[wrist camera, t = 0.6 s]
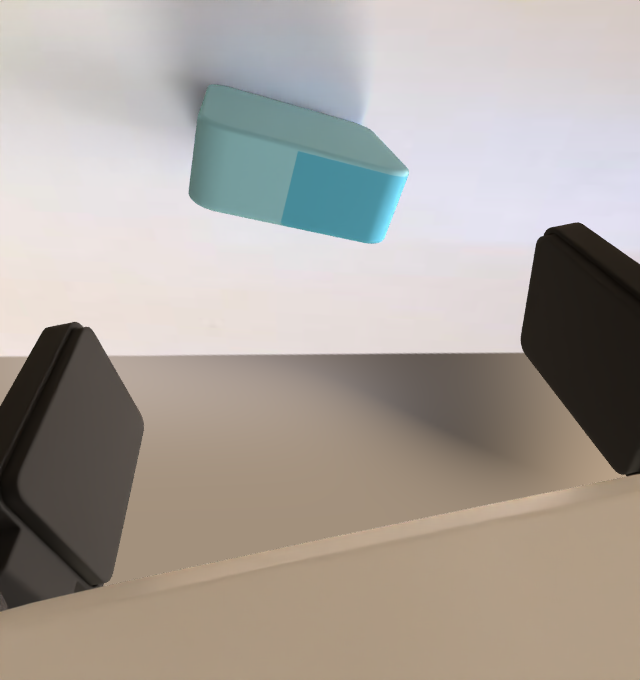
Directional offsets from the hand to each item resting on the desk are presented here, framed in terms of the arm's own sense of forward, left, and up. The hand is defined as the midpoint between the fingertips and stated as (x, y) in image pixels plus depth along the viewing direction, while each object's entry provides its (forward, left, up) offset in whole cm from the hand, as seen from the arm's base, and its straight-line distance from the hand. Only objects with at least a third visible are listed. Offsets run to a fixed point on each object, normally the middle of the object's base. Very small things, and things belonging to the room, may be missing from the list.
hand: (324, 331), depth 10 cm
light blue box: (+1, +3, -29) cm, 29 cm away
